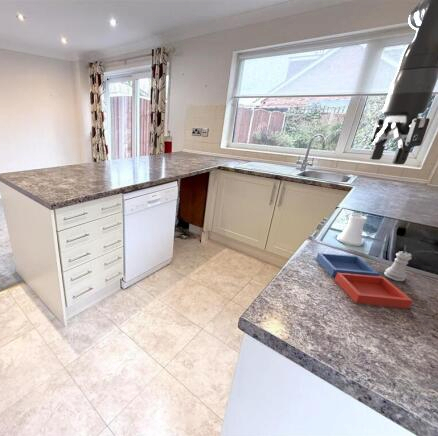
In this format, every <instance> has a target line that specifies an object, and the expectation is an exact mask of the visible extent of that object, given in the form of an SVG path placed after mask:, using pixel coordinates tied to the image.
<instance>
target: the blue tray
mask: <svg viewBox="0 0 438 436" xmlns="http://www.w3.org/2000/svg"><path fill="white" fill-rule="evenodd" d="M315 260H316V261H317V262H318V263H319V264H320V266H321V267H323V269H325V271H326V272H327V273H328V274H329V275H330V276H331V277H332V278H335V277H336V275H337V273H348V274H359V275H369V276H380V272H378V271H377V270H376V269H375V268H373V267H372V266H371V265H370V264H369V263H368V262H366V261H365V260H364V259H362V258H361V257H360V256H359V255H351V254H339V253H328V252H327V253H325V252H317V254H316V257H315Z"/></svg>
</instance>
